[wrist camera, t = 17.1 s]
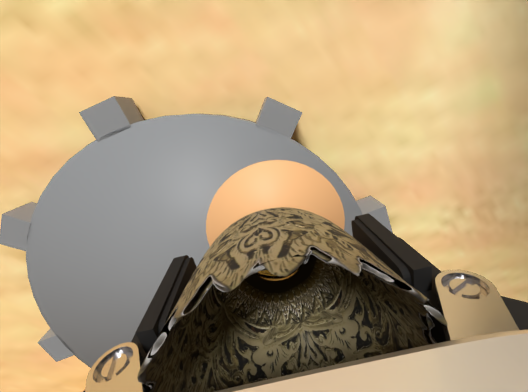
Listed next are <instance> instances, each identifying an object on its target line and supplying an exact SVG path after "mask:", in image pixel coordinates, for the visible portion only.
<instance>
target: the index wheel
mask: <svg viewBox="0 0 528 392" xmlns="http://www.w3.org/2000/svg"><path fill="white" fill-rule="evenodd" d="M79 113H80V115H81V116H82V118H83V120H84V121H85V123H86V124H87V126H88V127H89V129H90V131H91V132H92V134H93V135H94V137H95V138H96V140H95V141H94V142H92V143H90V144H88V145H87V146H86V147H85V148H83V149H82V150H81V151H79V152H78V153H77V154H76V155H74V156H73V157H72V158H70V159H69V160H68V161H67V162H66V163H65V165H64V166H63V167H62V168H61V169H60V170H59V171H58V172H57V173H56V174H55V175H54V176H53V178H52V179H51V181H50V182H49V184H48V185H47V187H46V188H45V190H44V192H43V193H42V195H41V196H40V199H39V201H38V203H34V202H30V203H28V204H25V205H23V206H20V207H18V208H16V209H13V210H11V211H8V212H6V213H4V214H2V220H1V229H0V244H2V245H6V246H9V247H13V248H16V249H20V250H23V251H26V262H27V270H28V278H29V282H30V285H31V289H32V292H33V296H34V298H35V301H36V303H37V305H38V307H39V309H40V312H41V314H42V316H43V317H44V319H45V320H46V322H47V323H48V325H49V327H50V330H49V331H48V332H47V333H46V334H45V335H44V336H43V337H42V338H41V339H40V341H39V342H38V344H39V345H40V346H41V347H42V348H43V349H44V350H45V351H46V352H47V353H48V354H49V355H50V356H51V357H52V358H53V359H54V360H55V361H56V362H57V361H60V360H63V359H65V358H68V357H70V356H73V355H75V356H76V357H77V358H78V359H80V360H81V361H82V362H84V363H85V364H86V365H88V366H89V367H90V368H92V366H93V365H94V364H95V362H96V361H97V360H98V359H99V358H100V357H101V356H102V355H103V354H105V353H106V352H107V351H109V350H110V349H112V348H113V347H115V346H117V345H119V344H122V343H126V342H131V341H132V339H133V337H134V335H135V332H136V330H137V328H138V326H139V324H140V322H141V321H142V319H143V317H144V315H145V313H146V311H147V309H148V307H149V305H150V303H151V301H152V299H153V297H154V295H155V293H156V291H157V289H158V287H159V285H160V284H161V282H162V280H163V278H164V276H165V274H166V272H167V270H168V268H169V266H170V264H171V262H172V260H173V259H174V258H176V257H180V256H185V255H188V256H189V258H190V257H192V258H193V259H194V262H195V264H196V267H197V266H198V264H199V263H200V261H201V259H202V258H203V256H204V254H205V253H206V252H207V250H208V249H209V248H210V246H211V245H212V244H213V242H214V241H215V240H216V239H217V238H218V236H219V235H220V234H221V233H222V232H223V231H224V230H225V229H227V228H228V227H229V226H230V225H231V224H233V223H234V222H236V221H237V220H239V219H241V218H243V217H244V216H246V215H249V214H251V213H254V212H257V211H260V210H264V209H270V208H280V207H287V208H297V209H302V210H306V211H309V212H312V213H314V214H317V215H319V216H322V217H324V218H326V219H327V220H329V221H331V222H333V223H334V224H336V225H337V226H339V227H340V228H342V229H343V230H344V231H346V232H347V233H348V234H350V235H351V236H352V237H353V233H352V225H351V222H352V220H355V217H356V216H359V215H363V214H368V213H369V214H370V215H372V216H373V217H374V218H375V219H376V220H378V221H379V222H380V223H381V224H382V225H383V226H385V227H386V228H387V229H388V230H389V231H391V232H392V229H391V225H390V221H389V218H388V214H387V210H386V206H385V205H383V204H382V203H380V202H379V201H377V200H376V199H375V198H373V197H372V196H368V197H365V198H363V199H360V200H358V201H355V199H354V197H353V196H352V194H351V192H350V190H349V189H348V188H347V187H346V185H345V184H344V183H343V182H342V180H341V179H340V178H339V177H338V175H337V174H336V173H335V172H334V171H333V170H332V169H331V168H330V167H329V166H328V165H327V164H326V163H324V162H323V161H322V160H321V159H320V158H319V157H318V156H317V155H315V154H314V153H312V152H311V151H309V150H308V149H307V148H305V147H304V146H302V145H301V144H299V143H298V142H296V141H295V140H293V139H292V138H291V137H292V135H293V133H294V130H295V128H296V126H297V123H298V121H299V119H300V117H301V114H302V112H300V111H298V110H295V109H293V108H291V107H289V106H287V105H284V104H282V103H280V102H278V101H276V100H273V99H271V98H269V97H267V98H265V100H264V103H263V105H262V108H261V110H260V113H259V116H258V118H257V121H256V123H255V122H252V121H250V120H245V119H240V118H235V117H230V116H226V115H212V114H187V115H172V116H163V117H158V118H153V119H149V120H144V119H143V117H142V116H141V114H140V112H139V110H138V108H137V107H136V105H135V103H134V101H133V99H132V98H125V97H116V96H113V97H111V98H109V99H107V100H105V101H103V102H101V103H98V104H96V105H94V106H92V107H90V108H88V109H86V110H83V111H81V112H79Z"/></svg>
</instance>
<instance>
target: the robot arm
mask: <svg viewBox="0 0 528 392" xmlns="http://www.w3.org/2000/svg"><path fill="white" fill-rule="evenodd" d="M351 225H352V233H353V237H354V238H355V239H356V240H357V241H359V242H360V243H361V244H362V245H363V246H365V247H366V248H367V249H368V250H369V251H371V252H372V253H373V254H374V255H375V256H377V257H378V258H379V259H380V260H381V261H382V262H384V263H385V264H386V265H387V266H388V267H389V268H390V269H392V270H393V271H394V272H395V273H396V274H397V275H399V276H400V277H401V278H402V279H403V280H404V281H405V282H407V283H408V284H409V285H410V286H412V287H413V288H415V289H416V290H418V291H419V292H421V293H422V294H423V295H424V296H425V297H427V298H428V299H429V300H428V302H429V303H431V304H432V305H433V306H434V307H435V308H436V309H437V310H438V311H439V312H440V313H441V314H442V315H443V317H444V318H445V319H446V321H447V323H448V325H444V324H442V323H440V322H439V321H438V320H436V319H435V318H434V317H433V316H432V315H430V314H429V313H430V312H429V311H428V310H426V311H427V312H429V313H428V316H429V317H430V318H431V319H432V321H433V323H434V325H435V327H433V328H432V329H431V335H432V337H433V338H434V339H435V341H436V342H437V343H435V344H430V345H425V346H420V347H415V348H411V349H406V350H401V351H397V352H392V353H387V354H383V355H378V356H373V357H369V358H364V359H359V360H355V361H350V362H345V363H341V364H336V365H331V366H327V367H322V368H318V369H313V370H309V371H304V372H300V373H295V374H290V375H286V376H281V377H277V378H272V379H268V380H263V381H259V382H254V383H250V384H245V385H241V386H237V387H232V388H228V389H223V390H219V391H214V392H528V303H527V302H523V301H519V300H515V299H511V298H507V297H503V296H500V294H499V292H498V291H497V289H496V287H495V286H494V285H493V284H492V282H490V281H489V280H487V279H486V278H485V277H483V276H480V275H478V274H476V273H472V272H469V271H464V270H447V271H443V272H441V271H440V270H439V269H437V268H436V267H435V266H434V265H433V264H431V263H430V262H429V261H428V260H427V259H425V258H424V257H423V256H422V255H420V254H419V253H418V252H417V251H416V250H414V249H413V248H412V247H411V246H410V245H408V244H407V243H406V242H405V241H404V240H402V239H401V238H399V237H397V236H395V235H394V234H393V233H392V232H391V231H389V230H388V229H387V228H386V227H385V226H383V225H382V224H381V223H380V222H379V221H378V220H376V219H375V218H374V217H373V216H372V215H370V214H369V213H368V214H363V215H359V216H356V217H355V220H352V222H351ZM196 268H197V267H196V264H195V262H194V259H193V258H192V257H190V258H189V256H188V255H185V256H180V257H176V258H174V259H173V260H172V262H171V264H170V266H169V268H168V270H167V272H166V274H165V276H164V278H163V280H162V282H161V284H160V285H159V287H158V289H157V291H156V293H155V295H154V297H153V299H152V301H151V303H150V305H149V307H148V309H147V311H146V313H145V315H144V317H143V319H142V321H141V322H140V324H139V326H138V328H137V330H136V332H135V335H134V337H133V339H132V341H131V342H126V343H122V344H119V345H117V346H115V347H113V348H112V349H110V350H109V351H107V352H106V353H105V354H103V355H102V356H101V357H100V358H99V359H98V360H97V361H96V362H95V364H94V365H93V366H92V368H91V369H90V371H89V373H88V376H87V381H86V388H85V390H84V391H83V392H149V389H147V388H146V384H144V383H140V382H138V379H137V376H138V373H139V370H140V368H141V365H142V364H143V362H144V360H145V358H146V356H147V354H148V353H149V351H150V349H151V348H152V346H153V344H154V342H155V341H156V339H157V337H158V336H159V334H160V332H161V330H162V329H163V327H164V325H165V324H166V322H167V320H168V318H169V316H170V314H171V313H172V311H173V309H174V307H175V305H176V303H177V302H178V300H179V298H180V296H181V294H182V293H183V291H184V289H185V287H186V285H187V284H188V282H189V280H190V278H191V277H192V275H193V273H194V271H195V270H196Z"/></svg>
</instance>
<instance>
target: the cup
mask: <svg viewBox="0 0 528 392" xmlns="http://www.w3.org/2000/svg"><path fill="white" fill-rule="evenodd" d="M428 300H429V299H428V298H427V297H425V296H424V295H423V294H422V293H421V292H419V291H418V290H416V289H415V288H413V287H412V286H410V285H409V284H408V283H407V282H405V281H404V280H403V279H402V278H401V277H400V276H399V275H397V274H396V273H395V272H394V271H393V270H392V269H390V268H389V267H388V266H387V265H386V264H385V263H384V262H382V261H381V260H380V259H379V258H378V257H377V256H375V255H374V254H373V253H372V252H371V251H369V250H368V249H367V248H366V247H365V246H363V245H362V244H361V243H360V242H359V241H357V240H356V239H355V238H354V237H352V236H351V235H350V234H348V233H347V232H346V231H344V230H343V229H342V228H340V227H339V226H337V225H336V224H334V223H333V222H331V221H329V220H327V219H326V218H324V217H322V216H319V215H317V214H314V213H312V212H309V211H306V210H302V209H297V208H287V207H280V208H270V209H264V210H260V211H257V212H254V213H251V214H249V215H246V216H244V217H243V218H241V219H239V220H237V221H236V222H234V223H233V224H231V225H230V226H229V227H228V228H227V229H225V230H224V231H223V232H222V233H221V234H220V235H219V236H218V238H217V239H216V240H215V241H214V242H213V244H212V245H211V246H210V248H209V249H208V250H207V252H206V253H205V254H204V256H203V258H202V259H201V261H200V263H199V264H198V266H197V268H196V270H195V271H194V273H193V275H192V277H191V278H190V280H189V282H188V284H187V285H186V287H185V289H184V291H183V293H182V294H181V296H180V298H179V300H178V302H177V303H176V305H175V307H174V309H173V311H172V313H171V314H170V316H169V318H168V320H167V322H166V324H165V325H164V327H163V329H162V330H161V332H160V334H159V336H158V337H157V339H156V341H155V342H154V344H153V346H152V348H151V349H150V351H149V353H148V354H147V356H146V358H145V360H144V362H143V364H142V365H141V368H140V370H139V373H138V376H137V379H138V382H140V383H144V384H146V388H147V389H149V392H214V391H219V390H223V389H228V388H232V387H237V386H241V385H245V384H250V383H254V382H259V381H263V380H268V379H272V378H277V377H281V376H286V375H290V374H295V373H300V372H304V371H309V370H313V369H318V368H322V367H327V366H331V365H336V364H341V363H345V362H350V361H355V360H359V359H364V358H369V357H373V356H378V355H383V354H387V353H392V352H397V351H401V350H406V349H411V348H415V347H420V346H425V345H430V344H435V343H437V342H436V341H435V339H434V338H433V337H432V335H431V329H432V328H433V327H435V325H434V323H433V321H432V319H431V318H430V317H429V316H428V313H429V312H430V313H429V314H430V315H432V316H433V317H434V318H435V319H436V320H438V321H439V322H440V323H442V324H444V325H448V323H447V321H446V319H445V318H444V317H443V315H442V314H441V313H440V312H439V311H438V310H437V309H436V308H435V307H434V306H433V305H432V304H431V303H429V302H428ZM426 310H428V311H429V312H427V311H426Z"/></svg>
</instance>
